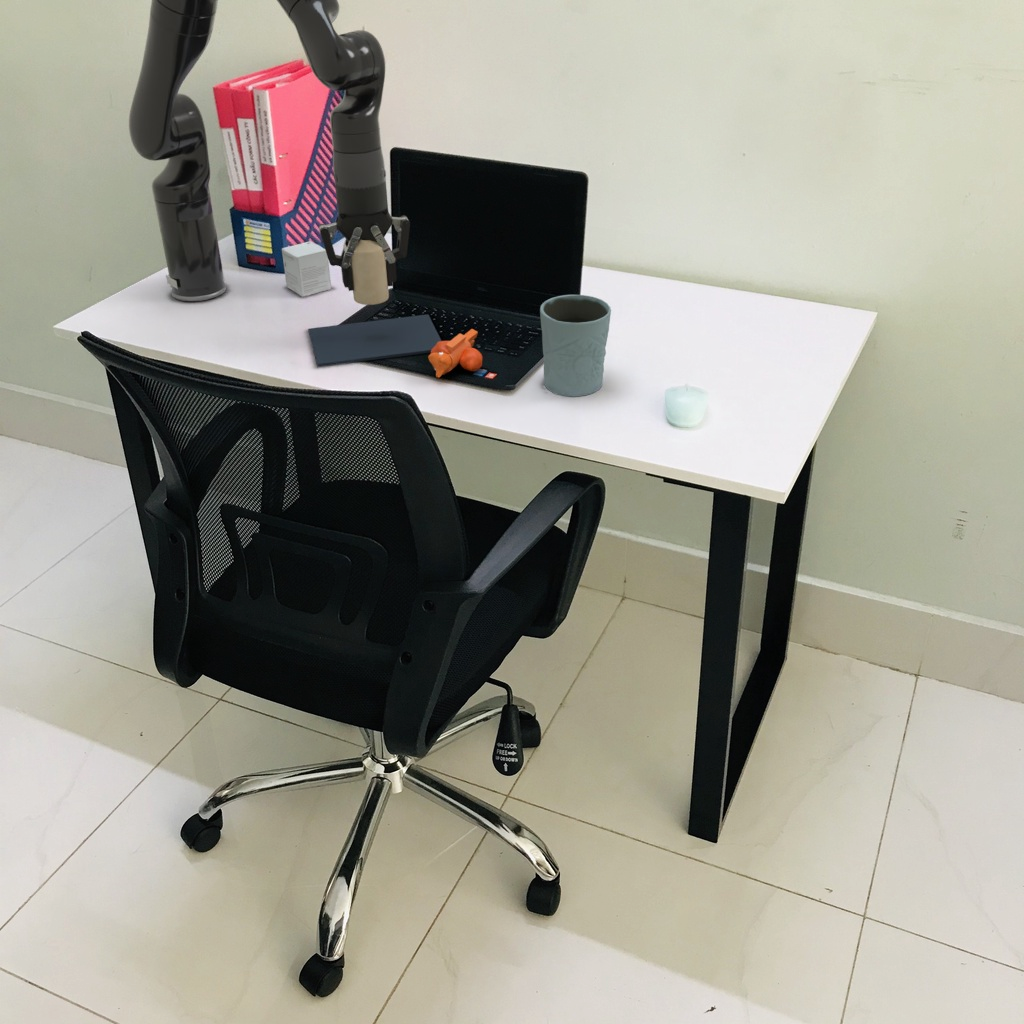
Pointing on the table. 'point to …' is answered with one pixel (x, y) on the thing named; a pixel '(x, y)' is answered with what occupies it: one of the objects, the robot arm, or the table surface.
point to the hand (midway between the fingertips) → (370, 286)
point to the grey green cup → (574, 343)
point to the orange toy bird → (456, 354)
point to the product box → (306, 268)
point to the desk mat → (373, 340)
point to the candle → (369, 273)
